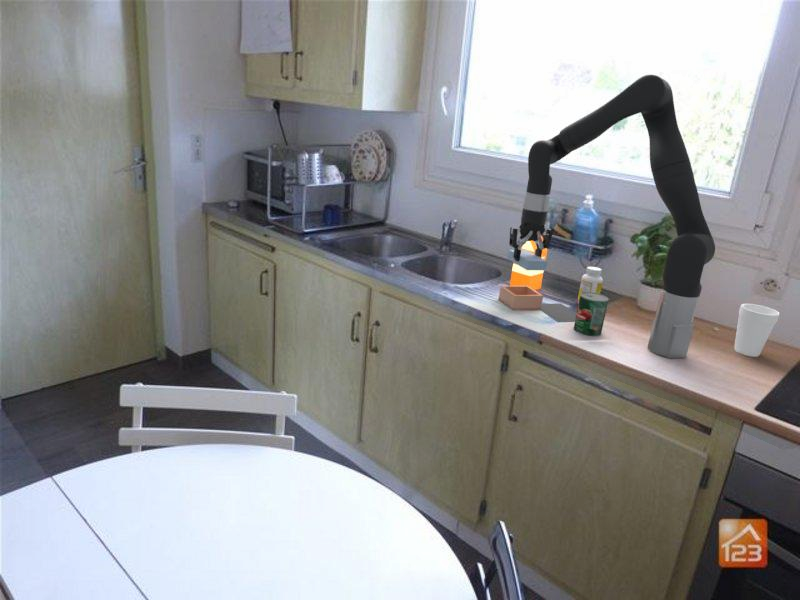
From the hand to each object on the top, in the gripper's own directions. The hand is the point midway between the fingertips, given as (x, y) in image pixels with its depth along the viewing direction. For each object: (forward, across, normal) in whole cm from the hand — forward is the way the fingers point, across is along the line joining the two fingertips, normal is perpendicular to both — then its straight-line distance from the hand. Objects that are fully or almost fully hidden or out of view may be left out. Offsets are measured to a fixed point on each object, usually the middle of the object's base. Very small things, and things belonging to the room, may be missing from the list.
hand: (526, 260), depth 178 cm
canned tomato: (+15, +10, -23) cm, 29 cm away
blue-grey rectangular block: (+1, 0, 0) cm, 1 cm away
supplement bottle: (+15, +25, -1) cm, 29 cm away
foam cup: (+15, +51, -41) cm, 67 cm away
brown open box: (+15, 0, 0) cm, 15 cm away
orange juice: (+15, +12, +18) cm, 26 cm away
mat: (+15, +10, -8) cm, 20 cm away
